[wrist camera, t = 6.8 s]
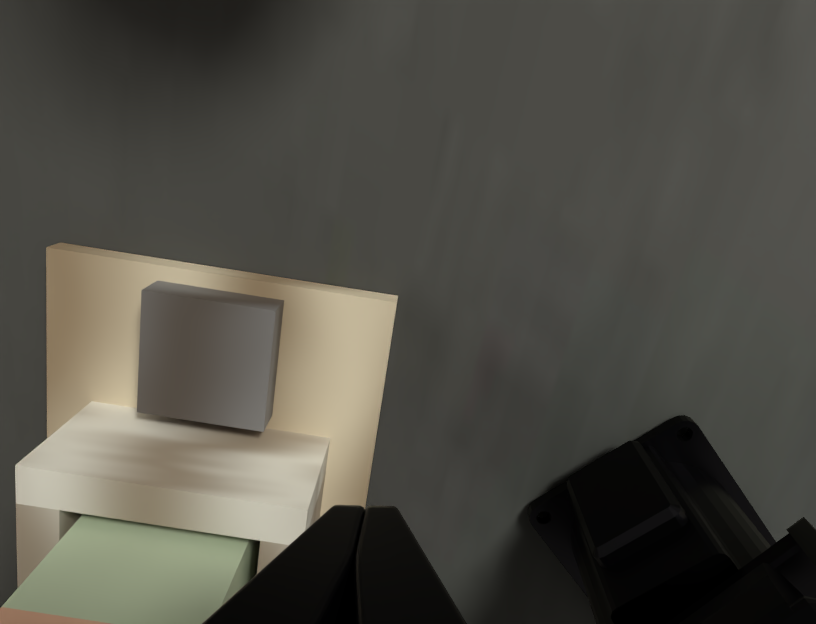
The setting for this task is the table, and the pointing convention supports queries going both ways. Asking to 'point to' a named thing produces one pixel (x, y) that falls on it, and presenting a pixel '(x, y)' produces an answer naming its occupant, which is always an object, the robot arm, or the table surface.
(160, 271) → the card holder
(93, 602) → the block
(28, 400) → the table surface
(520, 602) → the table surface
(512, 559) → the table surface
